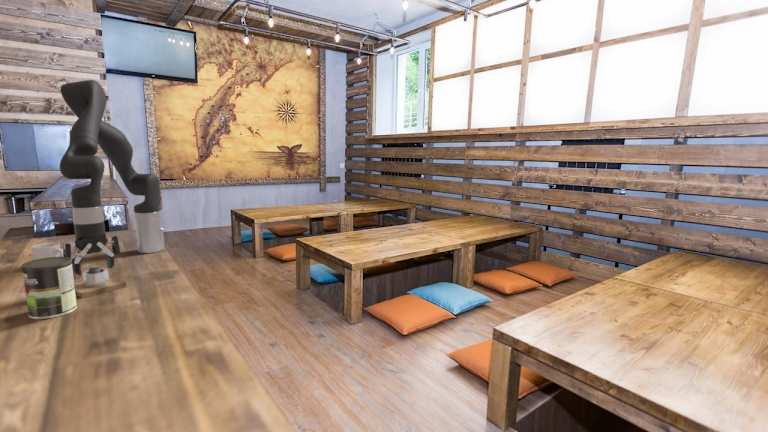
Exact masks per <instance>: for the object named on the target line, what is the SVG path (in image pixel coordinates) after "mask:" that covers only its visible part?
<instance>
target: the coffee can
mask: <svg viewBox="0 0 768 432" xmlns="http://www.w3.org/2000/svg"><path fill="white" fill-rule="evenodd" d="M20 268H21V270H22V276H23V284H24V290H25V296H26V297H25V298H26V304H27V312H28V315H27V316H28V318H29V319H32V320H47V319H55V318H58V316H59V317H62V316H61V315H63V316H65V314H66V315H68V314H71V313H72V312H74V311H76V310H77V309H78V305H77V295H75V286H74V283H75V280H74V279H75V278H74V272H73V266H72V257H71V258H69V257H61V256H60V257H49V258H42V259H37V260H35V259H34V260H30V261H26V262H24V263H22V264H21V265H20ZM54 317H55V318H54Z"/></svg>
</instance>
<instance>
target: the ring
mask: <svg viewBox="0 0 768 432" xmlns="http://www.w3.org/2000/svg"><path fill="white" fill-rule="evenodd" d="M81 275H82V281H83V283H84V286H86V287H97V286H101V285H105V284H107V283H108V282H109V275H110V274H109V269H107V268H102V267H101V268H100V273H95V274H89V269H88V270H86V271H84V272H81Z"/></svg>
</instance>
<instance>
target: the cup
mask: <svg viewBox="0 0 768 432" xmlns="http://www.w3.org/2000/svg"><path fill="white" fill-rule="evenodd" d="M31 250H32V253H33V257H34V260H37V259H42V258H49V257H63V248H62V247H61V243H59V242H44V243H43V242H42V243H38V244H35V245H32V246H31Z"/></svg>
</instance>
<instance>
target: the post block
mask: <svg viewBox="0 0 768 432" xmlns="http://www.w3.org/2000/svg"><path fill="white" fill-rule="evenodd" d="M100 269H101V267H99V266H96V267H95V266H94V267H90V268H88V270H89V274H95V273H100ZM108 275H109V282H108V283H107V284H105V285H101V286H97V287H86V286H84V283H83V280H82V281H78V282H77V281H76V282H74V286H75V295H76V297H79V298H81V299H85V298H87V297H91V296H92V297H93V296H97V295H99V294H104V293H108V292H110V291H111V292H112V291H115V290H119V289H123V288H127V282H126V281H124V280H121V279H120V278H118V277H114V276H112V275H110V274H108Z"/></svg>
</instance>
